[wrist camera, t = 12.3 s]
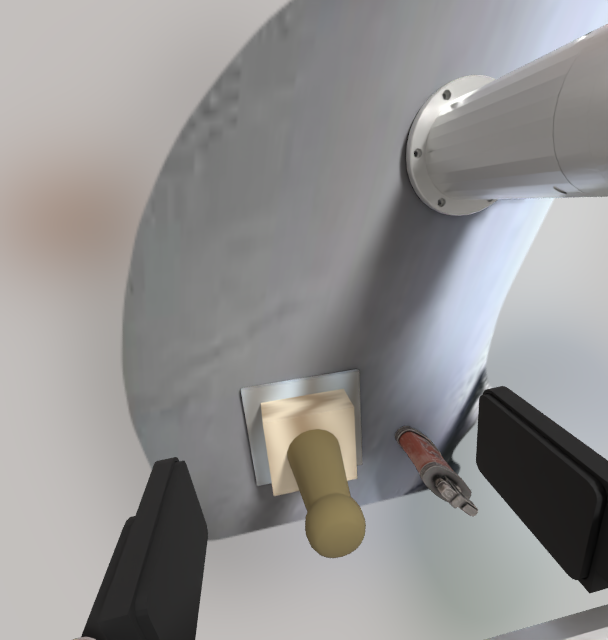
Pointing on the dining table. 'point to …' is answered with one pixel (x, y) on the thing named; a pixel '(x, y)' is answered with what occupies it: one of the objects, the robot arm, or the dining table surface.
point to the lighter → (435, 469)
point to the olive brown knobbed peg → (326, 494)
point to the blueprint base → (293, 391)
